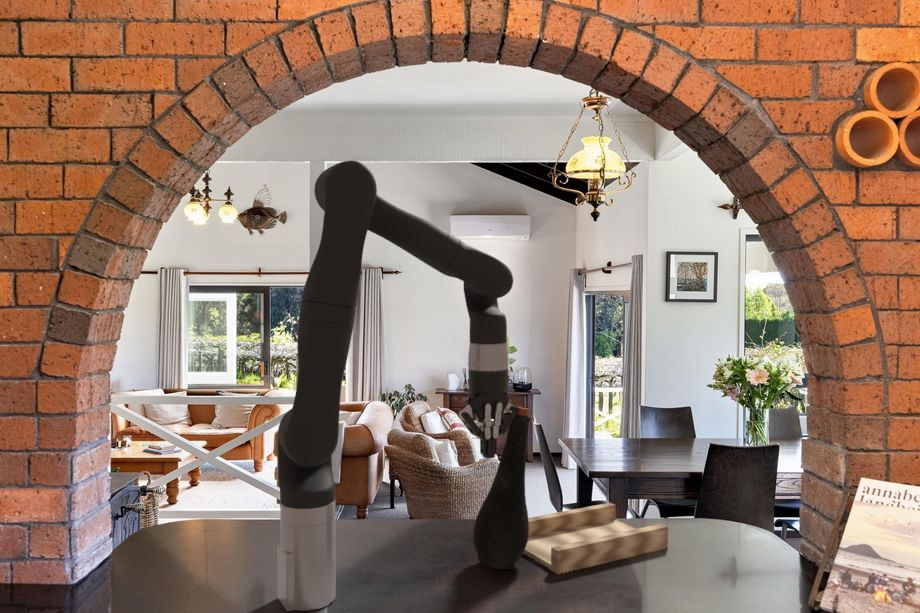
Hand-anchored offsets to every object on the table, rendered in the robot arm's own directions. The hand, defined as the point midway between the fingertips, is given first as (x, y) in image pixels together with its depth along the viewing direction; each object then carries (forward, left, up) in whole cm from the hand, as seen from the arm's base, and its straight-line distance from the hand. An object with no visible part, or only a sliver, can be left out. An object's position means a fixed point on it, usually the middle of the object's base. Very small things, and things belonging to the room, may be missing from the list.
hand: (488, 457), depth 139 cm
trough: (+24, 0, -21) cm, 32 cm away
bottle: (+2, 0, -21) cm, 21 cm away
